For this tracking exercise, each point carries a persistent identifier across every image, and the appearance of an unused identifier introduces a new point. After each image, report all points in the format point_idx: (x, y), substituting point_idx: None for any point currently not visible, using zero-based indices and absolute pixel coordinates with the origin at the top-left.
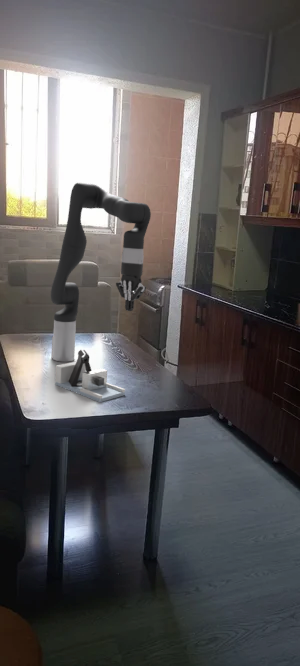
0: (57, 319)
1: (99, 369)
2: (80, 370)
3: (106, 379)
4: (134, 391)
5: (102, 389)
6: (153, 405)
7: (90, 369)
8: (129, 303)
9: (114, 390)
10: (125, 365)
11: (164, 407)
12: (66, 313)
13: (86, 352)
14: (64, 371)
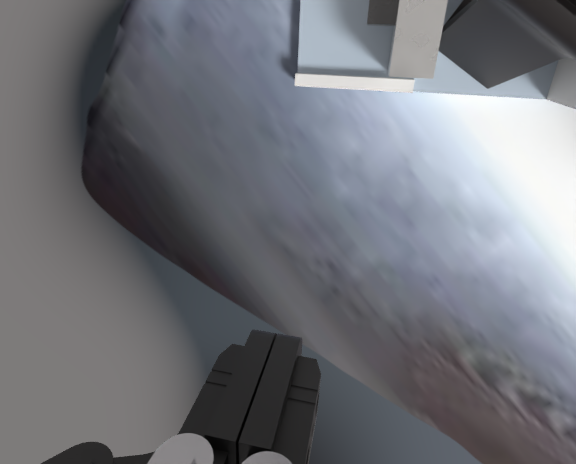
0: None
1: (430, 56)
2: None
3: (388, 71)
4: (303, 147)
5: (378, 30)
6: (167, 78)
7: (466, 9)
8: (220, 405)
9: (334, 63)
10: (519, 365)
11: (137, 91)
12: None
13: (552, 18)
14: None
